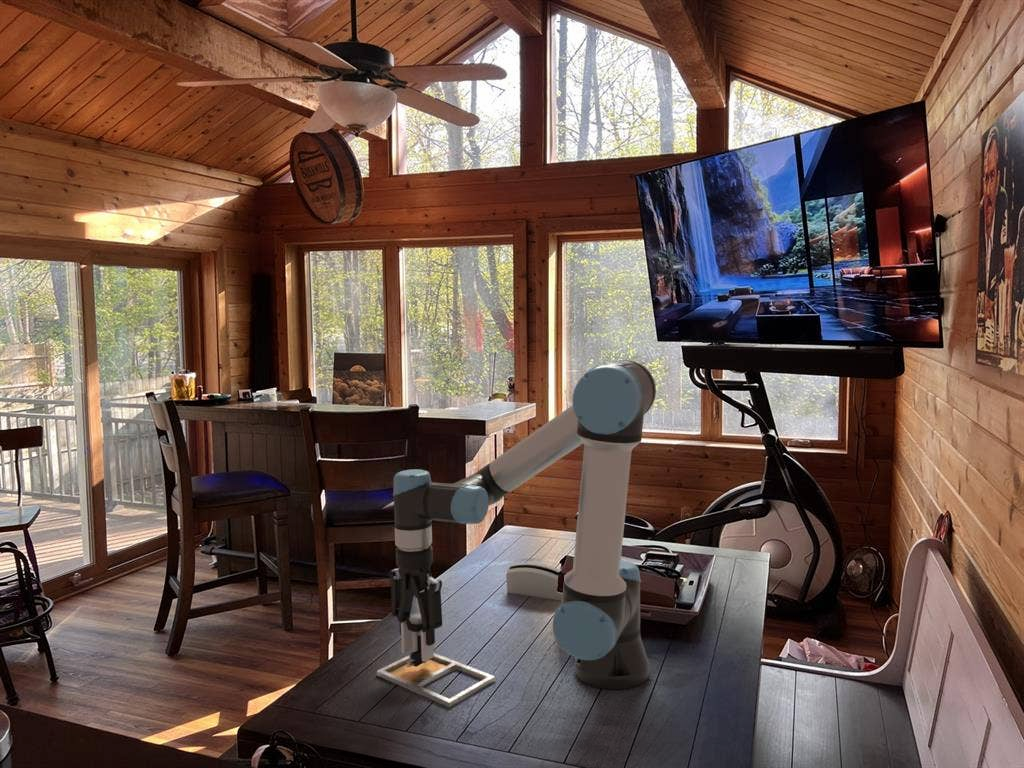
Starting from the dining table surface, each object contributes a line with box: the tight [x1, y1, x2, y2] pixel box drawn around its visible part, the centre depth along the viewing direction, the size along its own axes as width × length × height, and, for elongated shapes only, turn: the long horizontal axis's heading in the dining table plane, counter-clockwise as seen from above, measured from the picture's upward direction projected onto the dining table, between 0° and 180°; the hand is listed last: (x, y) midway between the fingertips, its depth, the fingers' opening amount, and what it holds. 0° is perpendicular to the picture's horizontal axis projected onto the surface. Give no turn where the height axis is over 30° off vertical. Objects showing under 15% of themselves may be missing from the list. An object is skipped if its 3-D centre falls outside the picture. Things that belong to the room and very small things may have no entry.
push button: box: [406, 611, 432, 667], centre depth 159 cm, size 7×5×10 cm
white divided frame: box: [376, 652, 496, 708], centre depth 156 cm, size 21×13×1 cm, turn 50°
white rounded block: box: [505, 562, 562, 602], centre depth 200 cm, size 17×5×10 cm, turn 66°
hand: (417, 654), depth 159 cm, fingers closed on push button, 5 cm apart
